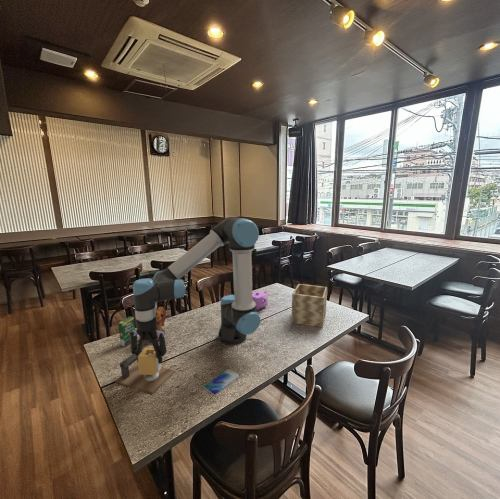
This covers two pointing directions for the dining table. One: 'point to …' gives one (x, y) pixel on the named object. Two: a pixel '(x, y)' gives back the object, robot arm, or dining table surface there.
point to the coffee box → (126, 330)
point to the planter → (309, 305)
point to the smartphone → (221, 381)
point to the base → (141, 376)
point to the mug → (160, 319)
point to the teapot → (260, 299)
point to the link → (147, 362)
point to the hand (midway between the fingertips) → (150, 369)
